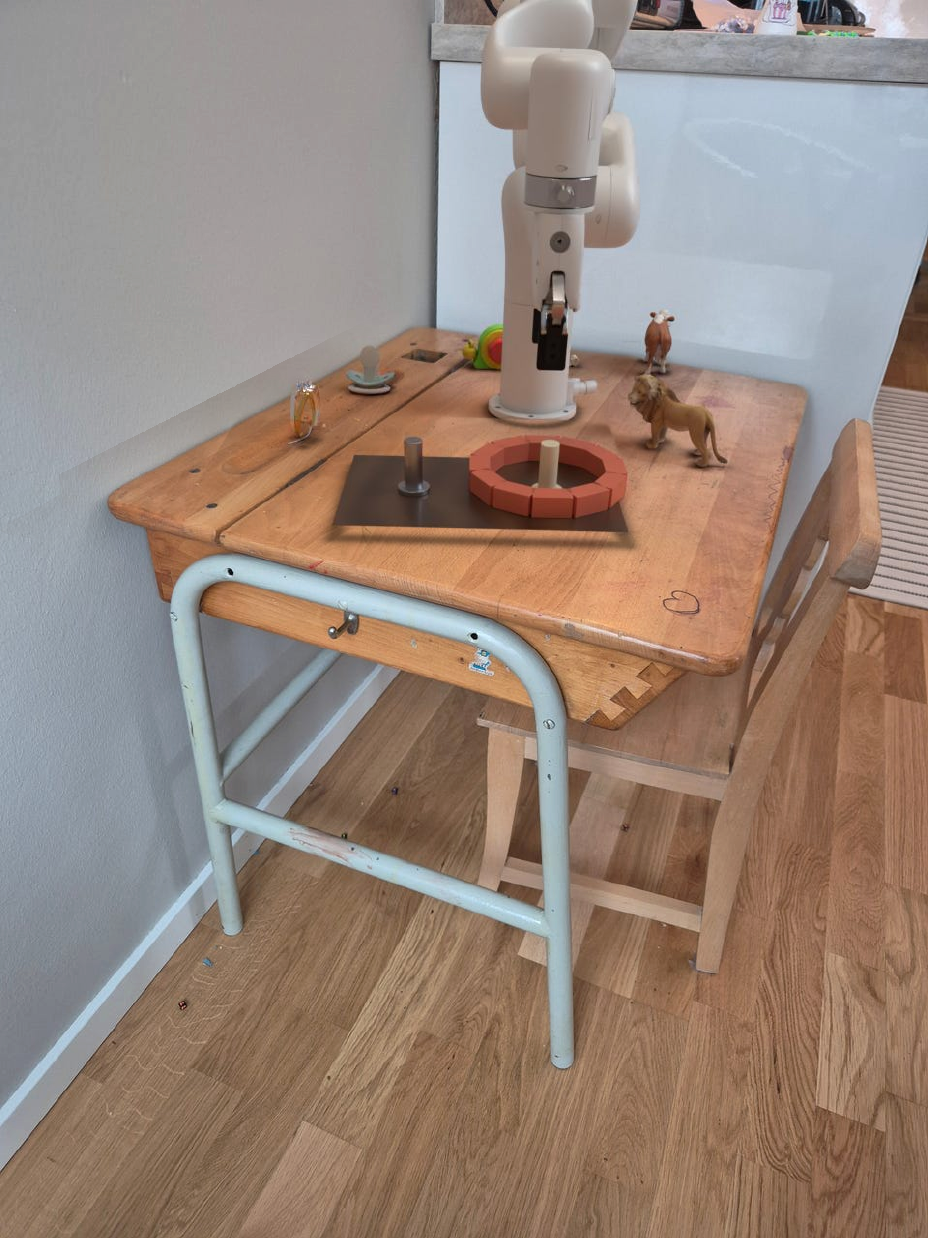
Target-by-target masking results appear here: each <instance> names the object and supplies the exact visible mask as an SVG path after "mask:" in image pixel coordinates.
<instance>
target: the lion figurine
mask: <svg viewBox="0 0 928 1238" xmlns="http://www.w3.org/2000/svg"><path fill="white" fill-rule="evenodd" d="M674 391H675V390H673V389H672V388H671V387H670V386H668V385H667V384H666V383H665V382H664V381H663V380H661V379H659V378H658V377H657V376H653V375H652V374H650V375H649V374H645V373H643V374H641V375H637V376H635V377H634V383H633V385H632V390H631V392H630V393H628V394H627V400H628V401H629V406H630V407H631V408H634V409H635V410H636V411H637V412H638V413H639V414H640V415H641V416H642V420H643V421H645V422H646V423H649V424H650V435H651V439H652V440H651V442H650V441H649V442H647V443H646V448H647V449H648V450H649V449H652V450H653V449H656V448H657V447H658V446H659V444H660V443H664V442H665V440H666V437H667V432H668V429H670V430H673V431H675V432H679V433H683V432H688V434H689V437H690V440H691V442H692V444H693V445H694V447H695V449H694V450H693V454H694V455H696V456H701V459H698V460H697V461H696V466H697V467H699V468H704V467H707V466H708V464H709V461H710V456H709V455H710V454H709V453H710V452H709V449H708V443H707V442H708V438H709V435H710V442H711V448H712V451H713V454H714V456H715V458H716V460H717V461H718V462H719V463H720V464H723V465H724V464H728V460H727V459H726V458H725V457H723V456H722V455H720V452H718V448H717V438H716V428H715V421H714V417H713V414H712V413H711V411H710V410H709V409H707V408H706V407H705V406H700V405H691V404H687V403H685V402H682V401H680V399H679V398H678V397H677V395H676V393H675V392H674Z"/></svg>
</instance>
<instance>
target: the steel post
mask: <svg viewBox="0 0 928 1238" xmlns="http://www.w3.org/2000/svg"><path fill="white" fill-rule="evenodd" d="M423 445H424V444H423V439H422V437H418V436H408V437H406V438H404V440H403V449H404V450H403V451H404V452H403V453H404V455H403V456H404V457H405V481H402V482H400V483H399V484H398V492H399V493H400V494H402V495H404V496H408V497H420V496H424V495H426V494H428V493H429V491H430V485H429V483H428V482H426V481H423V456H424V454H423V452H424V449H423Z"/></svg>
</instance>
